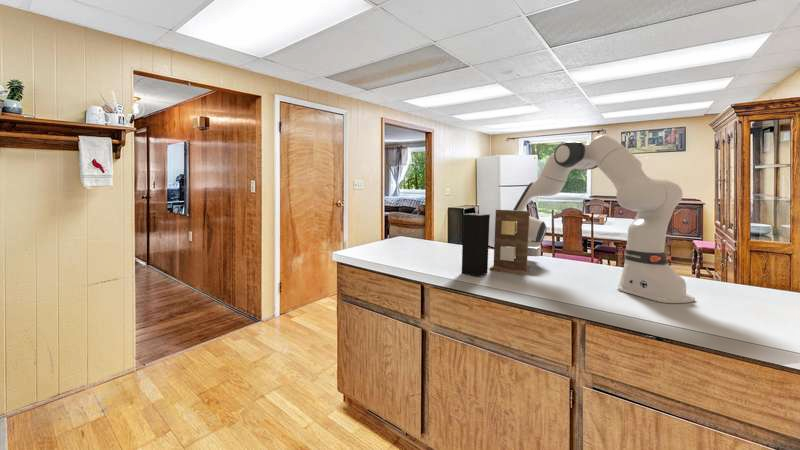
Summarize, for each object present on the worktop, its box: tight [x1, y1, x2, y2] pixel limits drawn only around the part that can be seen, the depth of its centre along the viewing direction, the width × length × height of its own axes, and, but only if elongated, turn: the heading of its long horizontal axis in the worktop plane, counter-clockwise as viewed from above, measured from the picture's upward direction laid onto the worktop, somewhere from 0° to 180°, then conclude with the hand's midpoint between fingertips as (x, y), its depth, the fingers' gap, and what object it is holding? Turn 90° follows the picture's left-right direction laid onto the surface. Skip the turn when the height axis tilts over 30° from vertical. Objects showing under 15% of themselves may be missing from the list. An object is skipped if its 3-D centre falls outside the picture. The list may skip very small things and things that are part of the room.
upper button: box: [501, 221, 517, 235], centre depth 153 cm, size 7×6×6 cm
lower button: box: [500, 246, 516, 261], centre depth 154 cm, size 7×6×6 cm
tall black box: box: [461, 206, 491, 277], centre depth 148 cm, size 8×8×28 cm
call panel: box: [489, 208, 531, 276], centre depth 154 cm, size 10×14×26 cm
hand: (512, 251), depth 157 cm, fingers closed, pressing on lower button
